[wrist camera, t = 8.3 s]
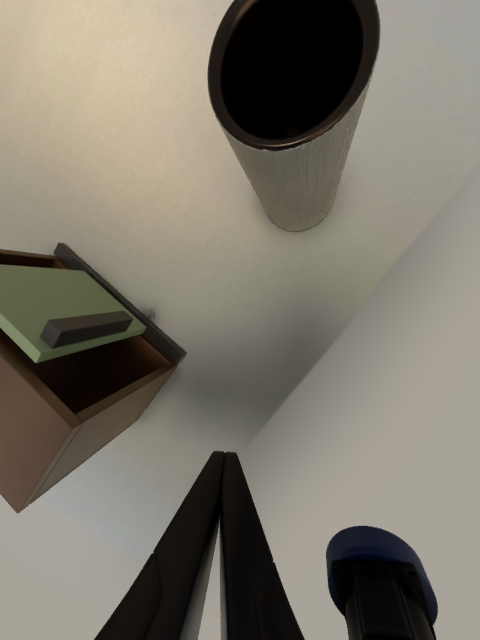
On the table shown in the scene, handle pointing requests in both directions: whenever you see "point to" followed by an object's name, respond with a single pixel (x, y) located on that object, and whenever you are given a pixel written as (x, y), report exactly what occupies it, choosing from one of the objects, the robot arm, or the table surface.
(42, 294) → the sliding door
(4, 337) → the cupboard
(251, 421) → the table surface
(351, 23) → the grey hollow tube
